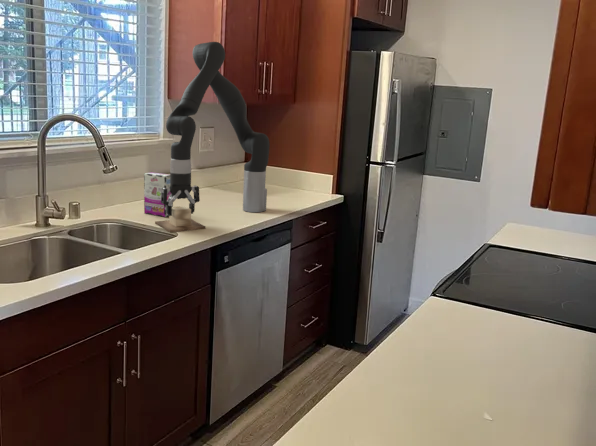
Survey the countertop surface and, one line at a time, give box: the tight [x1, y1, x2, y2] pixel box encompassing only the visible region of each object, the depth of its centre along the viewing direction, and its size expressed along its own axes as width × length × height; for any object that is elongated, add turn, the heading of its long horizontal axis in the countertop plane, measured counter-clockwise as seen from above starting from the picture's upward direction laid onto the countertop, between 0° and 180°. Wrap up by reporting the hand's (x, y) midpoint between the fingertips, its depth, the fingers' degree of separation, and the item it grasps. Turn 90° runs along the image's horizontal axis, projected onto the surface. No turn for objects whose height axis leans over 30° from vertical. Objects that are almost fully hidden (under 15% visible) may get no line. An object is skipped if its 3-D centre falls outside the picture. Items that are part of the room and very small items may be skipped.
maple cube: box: [168, 205, 192, 226], centre depth 218 cm, size 6×6×6 cm
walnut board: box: [154, 218, 206, 233], centre depth 219 cm, size 14×14×1 cm
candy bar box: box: [143, 171, 174, 218], centre depth 234 cm, size 11×5×16 cm, turn 62°
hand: (180, 214), depth 218 cm, fingers open, 8 cm apart
